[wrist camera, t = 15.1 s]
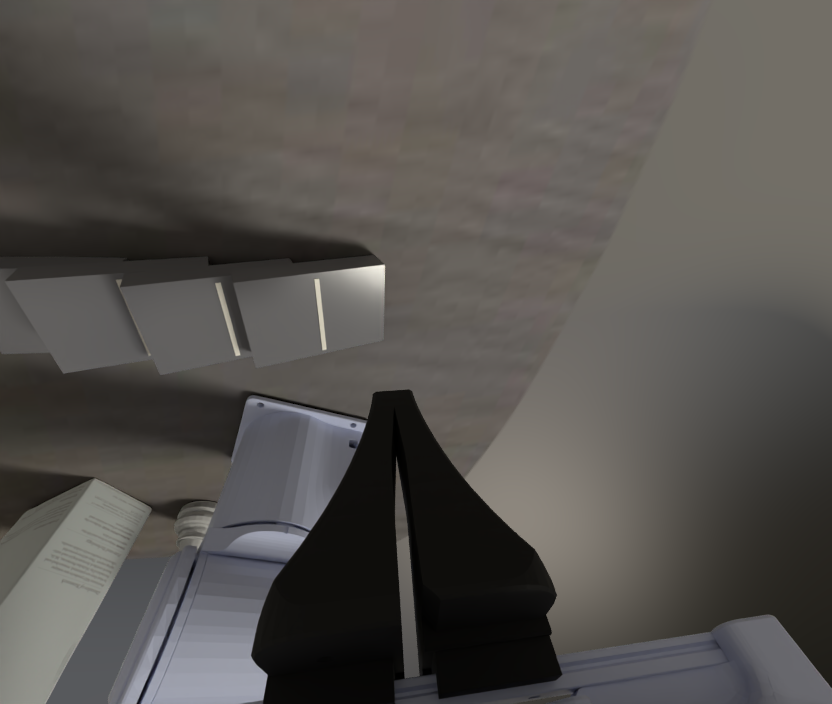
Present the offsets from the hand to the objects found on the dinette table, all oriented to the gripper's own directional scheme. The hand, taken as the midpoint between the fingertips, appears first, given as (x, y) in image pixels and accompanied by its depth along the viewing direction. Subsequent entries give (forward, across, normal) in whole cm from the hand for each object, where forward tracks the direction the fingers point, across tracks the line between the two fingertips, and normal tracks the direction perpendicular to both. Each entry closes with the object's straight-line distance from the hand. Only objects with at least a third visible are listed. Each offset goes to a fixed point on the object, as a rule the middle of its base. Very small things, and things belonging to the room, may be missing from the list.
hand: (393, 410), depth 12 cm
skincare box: (+10, +27, +20) cm, 35 cm away
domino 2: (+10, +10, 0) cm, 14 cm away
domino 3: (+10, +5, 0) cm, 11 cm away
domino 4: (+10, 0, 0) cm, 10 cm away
